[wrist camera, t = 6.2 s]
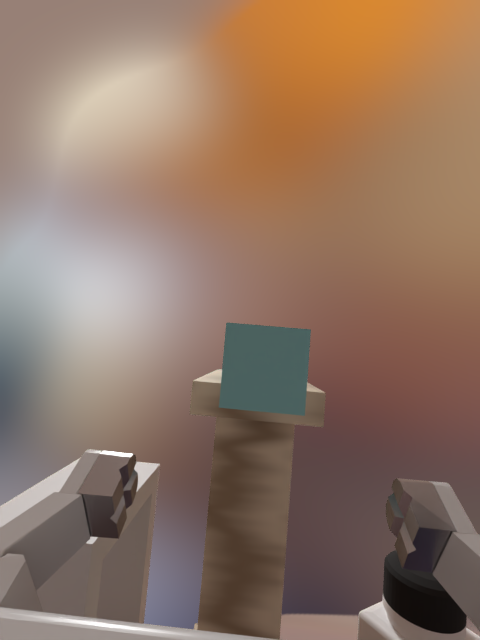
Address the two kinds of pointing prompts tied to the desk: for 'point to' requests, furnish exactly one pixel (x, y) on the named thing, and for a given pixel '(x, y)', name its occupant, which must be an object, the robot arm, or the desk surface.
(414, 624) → the medicine bottle
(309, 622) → the desk surface
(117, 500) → the robot arm
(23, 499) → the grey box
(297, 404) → the teal rectangular bar
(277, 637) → the birch shelf
